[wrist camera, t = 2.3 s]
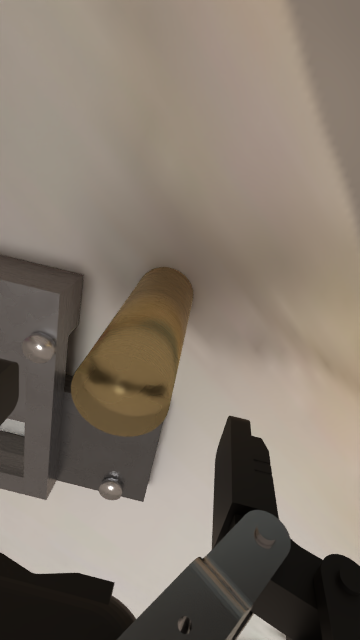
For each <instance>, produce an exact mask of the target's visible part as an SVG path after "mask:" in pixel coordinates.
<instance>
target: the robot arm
mask: <svg viewBox="0 0 360 640" xmlns="http://www.w3.org/2000/svg"><path fill="white" fill-rule="evenodd" d="M18 398H19V365H18V363H17V362H14V361H9V360H5V359H1V358H0V426H1V424H2V423H3V422H4V421H5V420H6V419H7V417H8V416H9V415H10V414H11V413H12V412H13V410H14V409H15V407H16V405H17V402H18ZM113 587H114V582H110V581H107V580H103V579H99V578H95V577H91V576H88V575H84V574H80V573H57V574H34V573H32V572H30V571H28V570H27V569H25V568H24V567H22V566H21V565H19V564H18V563H16V562H14V561H13V560H11V559H10V558H8V557H7V556H5V555H4V554H2V553H0V640H236V639H237V638H238V636H239V635H240V633H241V632H242V631H243V629H244V628H245V626H246V625H247V623H248V622H249V620H250V619H251V617H252V616H253V614H256V615H257V616H258V617H260V618H261V619H263V620H264V621H266V622H267V623H269V624H270V625H272V626H273V627H275V628H276V629H277V630H279V631H280V632H282V633H283V634H285V635H286V640H360V566H359V565H358V564H357V563H355V562H354V561H353V560H351V559H349V558H348V557H345V556H343V555H339V554H331V555H328V556H326V557H325V558H324V560H322V559H320V558H318V557H317V556H315V555H313V554H312V553H310V552H308V551H306V550H305V549H303V548H301V547H300V546H298V545H297V544H296V543H295V542H294V541H293V540H292V539H291V538H290V536H289V533H288V531H287V529H286V528H285V526H284V525H283V523H282V522H281V521H280V520H279V517H278V511H277V504H276V498H275V491H274V484H273V477H272V471H271V466H270V457H269V451H268V449H267V447H266V445H265V444H264V442H263V440H262V439H261V438H258V437H254V436H251V427H250V421H249V420H246V419H242V418H237V417H233V416H229V417H228V419H227V422H226V425H225V428H224V431H223V434H222V436H221V439H220V442H219V445H218V449H217V453H216V459H215V479H214V505H213V532H212V550H211V551H210V552H209V553H208V554H207V556H205V557H204V558H203V559H202V558H201V557H198V558H196V559H195V560H194V561H193V562H192V563H191V564H190V565H189V566H188V567H187V568H186V569H185V570H184V571H183V572H182V573H181V574H180V575H179V576H178V577H177V578H176V579H175V580H174V581H173V582H172V583H171V584H170V585H169V586H168V587H167V588H166V589H165V590H164V591H163V592H162V593H161V594H160V595H159V597H158V598H157V599H156V600H155V601H154V602H153V603H152V604H151V605H150V606H149V607H148V608H147V609H146V610H145V611H144V612H143V613H142V614H141V615H140V616H139V617H138V618H137V619H136V618H135V617H134V615H133V614H132V613H131V612H130V610H129V609H128V608H127V607H126V606H125V605H124V604H123V603H122V602H120V601H119V600H118V599H116V598H115V597H113V596H112V592H113Z"/></svg>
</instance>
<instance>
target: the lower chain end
mask: <svg viewBox="0 0 360 640" xmlns="http://www.w3.org/2000/svg"><path fill="white" fill-rule="evenodd" d="M72 379H73V377H71V376H67V375H65V384H64V396H63V408H62V421H61V433H60V445H59V458H58V470H57V480H58V481H62V482H66V483H70V484H74V485H78V486H82V487H86V488H90V489H94V490H98V491H99V493H100V494H101V496H102V497H104V498H106V499H108V500H117V499H119V498H120V497H121V496H122V497H126V498H130V499H134V500H138V501H142V502H143V501H144V497H145V493H146V489H147V485H148V481H149V477H150V473H151V469H152V465H153V460H154V456H155V452H156V448H157V444H158V440H159V436H160V432H161V428H162V424H163V422H162V423H161V424H160V425H159V426H158V427H157V428H155V429H154V430H152V431H150V432H149V433H146V434H143V435H139V436H133V437H124V436H116V435H112V434H109V433H106V432H103V431H101V430H99V429H97V428H96V427H94V426H93V425H91V424H90V423H89V422H87V421H86V420H85V419H84V418H83V417H82V415H81V414H80V413H79V412H78V410H77V408H76V407H75V404H74V402H73V399H72V395H71V383H72ZM24 445H25V437H23V436H19V435H15V434H11V433H7V432H3V431H0V450H2V451H6V452H10V453H14V454H18V455H22V456H24Z"/></svg>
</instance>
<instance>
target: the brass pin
mask: <svg viewBox="0 0 360 640" xmlns="http://www.w3.org/2000/svg"><path fill="white" fill-rule="evenodd" d="M192 301H193V290H192V286H191V284H190V282H189V280H188V279H187V278H186V277H185V276H184V275H183V274H182V273H181V272H179V271H177V270H175V269H172V268H168V267H159V268H155V269H152V270H151V271H149V272H147V273H146V274H145V275H144V276H143V277H142V279H141V280H140V282H139V283H138V284H137V286H136V287H135V289H134V290H133V291H132V293H131V294H130V296H129V297H128V299H127V300H126V301H125V303H124V304H123V306H122V307H121V308H120V310H119V311H118V313H117V314H116V315H115V317H114V318H113V320H112V321H111V323H110V324H109V325H108V327H107V328H106V330H105V331H104V332H103V334H102V335H101V337H100V338H99V339H98V341H97V342H96V344H95V345H94V347H93V348H92V349H91V351H90V352H89V354H88V355H87V356H86V358H85V359H84V361H83V362H82V364H81V365H80V366H79V368H78V369H77V371H76V372H75V374H74V376H73V379H72V383H71V395H72V399H73V402H74V404H75V407H76V408H77V410H78V412H79V413H80V414H81V415H82V417H83V418H84V419H85V420H86V421H87V422H89V423H90V424H91V425H93V426H94V427H96V428H97V429H99V430H101V431H103V432H106V433H109V434H112V435H116V436H124V437H133V436H139V435H143V434H146V433H149V432H150V431H152V430H154V429H155V428H157V427H158V426H159V425H160V424H161V423H162V422H163V421H164V419H165V417H166V415H167V413H168V410H169V406H170V401H171V397H172V392H173V388H174V383H175V378H176V374H177V369H178V365H179V360H180V356H181V351H182V346H183V342H184V337H185V333H186V328H187V324H188V319H189V314H190V310H191V305H192Z"/></svg>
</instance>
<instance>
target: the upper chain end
mask: <svg viewBox="0 0 360 640" xmlns="http://www.w3.org/2000/svg"><path fill="white" fill-rule="evenodd" d="M83 276H84V275H82V274H78V273H73V272H69V271H65V270H61V269H57V268H53V267H49V266H44V265H40V264H36V263H32V262H28V261H24V260H19V259H15V258H11V257H7V256H3V255H0V358H1V359H5V360H9V361H14V362H17V363H18V365H19V398H18V402H17V405H16V407H15V409H14V410H13V412H12V413H11V414H10V415H9V416H8V417H7V418H9V419H13V420H17V421H21V422H25V445H24V456H22V455H18V454H14V453H10V452H6V451H2V450H0V488H1V489H5V490H9V491H13V492H17V493H21V494H25V495H29V496H33V497H37V498H41V499H45V500H47V498H48V496H49V494H50V492H51V490H52V488H53V486H54V484H55V482H56V481H57V470H58V458H59V445H60V433H61V421H62V408H63V396H64V384H65V371H66V359H67V347H68V336H69V335H70V333H71V332H72V331H73V330H74V329H75V328H76V327H77V326H78V325H79V319H80V308H81V297H82V287H83Z"/></svg>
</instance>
